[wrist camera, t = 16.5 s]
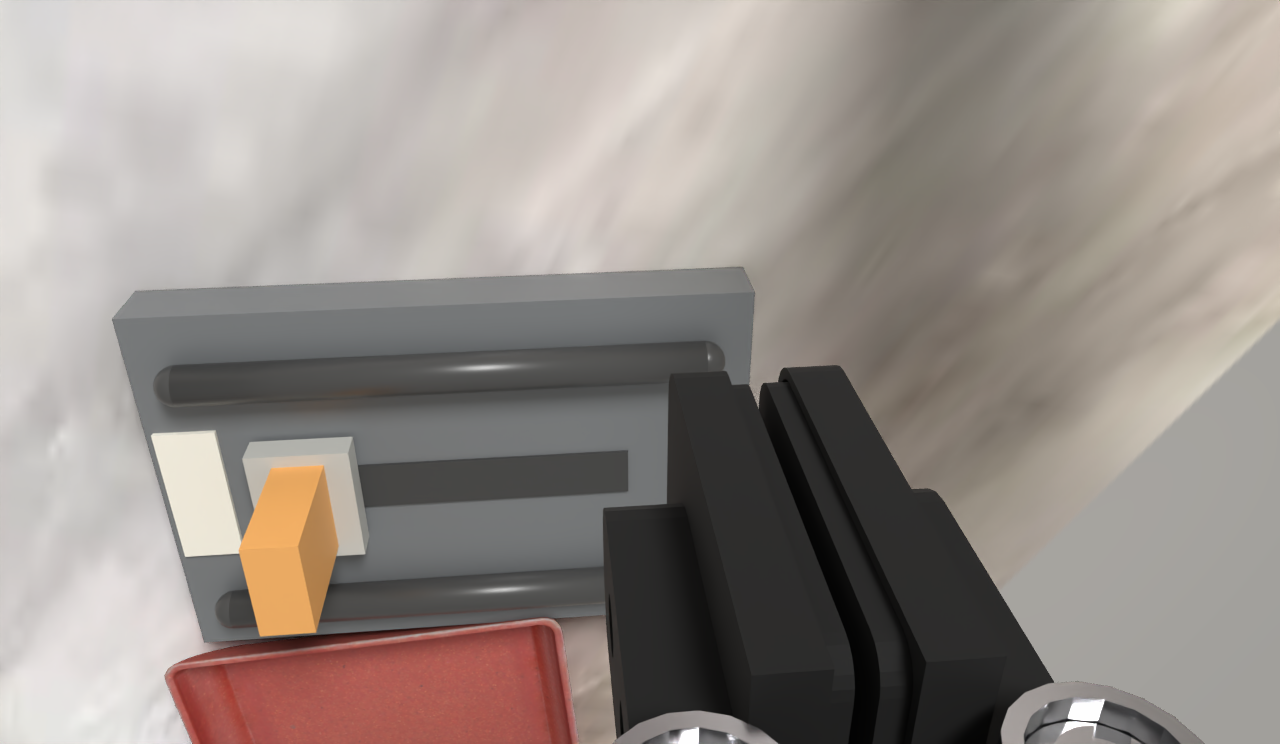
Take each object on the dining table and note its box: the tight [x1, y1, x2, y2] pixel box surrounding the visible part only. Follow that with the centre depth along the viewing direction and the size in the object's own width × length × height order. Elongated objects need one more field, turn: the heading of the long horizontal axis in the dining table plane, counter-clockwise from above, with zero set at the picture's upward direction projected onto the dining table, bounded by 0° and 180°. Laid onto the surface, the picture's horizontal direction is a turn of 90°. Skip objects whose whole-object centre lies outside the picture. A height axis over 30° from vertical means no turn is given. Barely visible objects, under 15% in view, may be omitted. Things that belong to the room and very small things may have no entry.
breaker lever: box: [239, 437, 369, 636], centre depth 38 cm, size 4×5×6 cm
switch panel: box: [112, 267, 755, 642], centre depth 42 cm, size 24×16×4 cm, turn 90°
